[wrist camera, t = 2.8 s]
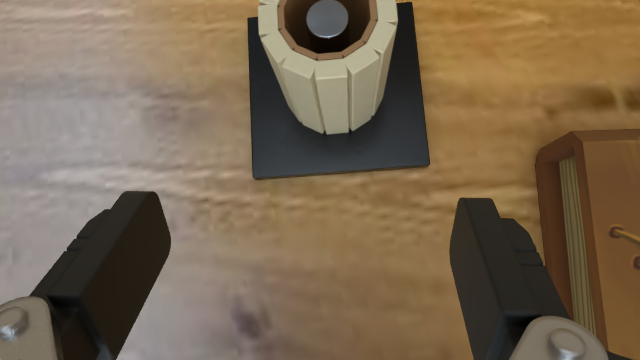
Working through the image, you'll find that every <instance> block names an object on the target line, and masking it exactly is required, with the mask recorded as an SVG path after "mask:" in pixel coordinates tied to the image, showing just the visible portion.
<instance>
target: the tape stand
mask: <svg viewBox="0 0 640 360" xmlns="http://www.w3.org/2000/svg"><path fill="white" fill-rule="evenodd" d="M396 5H397V15H398V23H397V29H396V34H395V39H394V44H393V49H392V54H391V59H390V64H389V69H388V74H387V79H386V84H385V89H384V94H383V98H382V100H381V102H380V104H379V106H378V108H377V111H376V113H375V115H374V116H372V115H371V119H370V120H369V121H367V122H366V123H364V124H363V125H361V126H360V127H358V128H357V129H355V130H354V131H352V130H351V129H350V128H349V132H348V133H338V134H326V131H324V133H320V132H317V131H315V130H313V129H311V128H309V127H307V126H304V125H303V123H302V121H301V122H299V120H298V119H297V117H296V116H295V115H294V113H293V112H292V110H291V109H290V107H289V106H288V104H287V101H286V99H285V96H284V94H283V92H282V89H281V87H280V84H279V82H278V80H277V77H276V75H275V73H274V70H273V68H272V65H271V63H270V61H269V58H268V56H267V53H266V51H265V49H264V46H263V44H262V42H261V38H260V36H259V27H258V17H251V18H248V19H247V20H248V50H249V80H250V110H251V140H252V170H253V178H254V179H255V180H261V179H274V178H288V177H301V176H315V175H328V174H342V173H355V172H369V171H382V170H395V169H409V168H422V167H428V166H429V165H430V159H429V150H428V141H427V132H426V123H425V114H424V105H423V96H422V87H421V78H420V69H419V60H418V51H417V42H416V33H415V24H414V15H413V6H412V2H405V3H396ZM306 27H307V32H308V37H309V42H310V47H311V51H312V52H315V53H317V54H322V53H333V52H342V51H343V50H345V49H346V48H348V47H349V46H350V43H349V13H348V10H347V9H346V7H345V6H344V5H343V4H342V3H341V2H339V1H337V0H319V1H317V2H315V3H314V4H313V5H312V6H311V7H310V8H309V10H308V12H307V14H306Z"/></svg>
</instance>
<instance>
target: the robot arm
mask: <svg viewBox="0 0 640 360" xmlns="http://www.w3.org/2000/svg"><path fill="white" fill-rule="evenodd" d="M170 247H171V236H170V232H169V229H168V225H167V222H166V219H165V216H164V213H163V209H162V206H161V203H160V200H159V197H158V195H157V194H156V193H155V192H151V191H125V192H124V193H122V194H121V196H120V197H119V198H118V200H117V201H116V202H115V204H114V205H113V206H112V208H111V209H105V210H104V211H102V212H101V213H99V214H98V215H97V216H95V217H94V218H92V219H91V220H90V221H88V222H87V224H86V225H85V226H84V227H83V229H82V230H81V231H80V232H79V234H78V235H77V238H76V239H74V240H73V241H72V242H71V244H70V245H69V246H68V248H67V251H64V253H63V254H62V255H61V256H60V258H59V259H58V260H57V261H56V263H55V264H54V265H53V266H52V268H51V269H50V270H49V271H48V273H47V274H46V275H45V277H44V278H43V279H42V280H41V282H40V283H39V284H38V285H37V287H36V288H35V289H34V290H33V292H32V293H31V294H30V295H29V297H21V298H17V299H14V300H11V301H8V302H6V303H4V304H2V305H0V360H116V359H117V357H118V355H119V353H120V351H121V349H122V347H123V345H124V343H125V341H126V339H127V337H128V335H129V333H130V331H131V329H132V327H133V325H134V323H135V321H136V319H137V317H138V315H139V313H140V311H141V309H142V307H143V305H144V303H145V301H146V299H147V297H148V295H149V293H150V291H151V289H152V287H153V285H154V283H155V281H156V279H157V277H158V275H159V273H160V271H161V269H162V267H163V265H164V264H165V262H166V260H167V258H168V255H169V252H170ZM450 264H451V268H452V272H453V276H454V280H455V285H456V289H457V293H458V297H459V301H460V305H461V309H462V313H463V317H464V321H465V325H466V329H467V333H468V337H469V342H470V346H471V350H472V354H473V358H474V360H633V359H630V358H627V357H624V356H620V355H618V354H615V353H612V352H610V351H608V350H606V349H605V348H604V347H603V345H602V344H601V342H600V341H599V340H598V339H597V338H596V336H595V335H593V334H592V333H591V332H590V331H589V330H587V329H586V328H585V327H583V326H581V325H580V324H578V323H576V322H574V321H572V320H571V318H570V316H569V314H568V312H567V310H566V308H565V306H564V304H563V302H562V300H561V298H560V296H559V294H558V292H557V290H556V288H555V286H554V284H553V282H552V280H551V278H550V276H549V273H548V271H547V269H546V267H545V266H543V261H542V259H541V257H540V255H539V253H538V252H536V247H535V245H534V243H533V241H532V239H531V237H530V235H529V233H528V232H527V231H526V230H525V229H524V228H523V227H522V226H521V225H519V224H518V223H517V222H516V221H515V220H514V219H509V218H500V216H499V213H498V211H497V209H496V206H495V204H494V202H493V200H492V199H491V198H460V199H459V201H458V204H457V209H456V214H455V219H454V225H453V230H452V235H451V240H450Z"/></svg>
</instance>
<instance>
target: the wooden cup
mask: <svg viewBox="0 0 640 360" xmlns="http://www.w3.org/2000/svg"><path fill="white" fill-rule="evenodd" d="M317 1H319V0H260V1H259V2H260V4H261V5H259V6H258V27H259V36H260V38H261V42H262V44H263V46H264V49H265V51H266V53H267V56H268V58H269V61H270V63H271V65H272V68H273V70H274V73H275V75H276V77H277V80H278V82H279V84H280V87H281V89H282V92H283V94H284V96H285V99H286V101H287V104H288V106H289V107H290V109H291V110H292V112H293V113H294V115H295V116H296V117H297V119H298V120H299V122H301V121H302V123H303V125H304V126H307V127H309V128H311V129H313V130H315V131H317V132H320V133H324V131H326V134H338V133H348V132H349V128H350V129H351V130H352V131H354V130H355V129H357V128H358V127H360V126H361V125H363V124H364V123H366V122H367V121H369V120H370V119H371V115H372V116H374V115H375V113H376V111H377V108H378V106H379V104H380V102H381V100H382V98H383V94H384V89H385V84H386V79H387V74H388V69H389V64H390V59H391V54H392V49H393V44H394V39H395V34H396V29H397V23H398V15H397V5H396V0H337V1H339V2H341V3H342V4H343V5H344V6H345V7H346V9H347V10H348V13H349V43H350V46H349V47H348V48H346V49H345V50H343V51H342V52H333V53H322V54H317V53H315V52H312V51H311V47H310V42H309V37H308V32H307V27H306V14H307V12H308V10H309V8H310V7H311V6H312V5H313V4H314V3H315V2H317Z"/></svg>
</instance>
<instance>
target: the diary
mask: <svg viewBox="0 0 640 360" xmlns="http://www.w3.org/2000/svg"><path fill="white" fill-rule="evenodd" d="M535 168H536V177H537V187H538V197H539V206H540V216H541V226H542V235H543V245H544V255H545V264H546V269H547V271H548V273H549V276H550V278H551V280H552V282H553V284H554V286H555V288H556V290H557V292H558V294H559V296H560V298H561V300H562V302H563V304H564V306H565V308H566V310H567V312H568V314H569V316H570V318H571V320H572V321H574V322H576V323H578V324H580V325H581V326H583V327H585V328H586V329H587V330H589V331H590V332H591V333H592V334H593V335H595V336H596V338H597V339H598V340H599V341H600V342H601V344H602V345H603V347H604V348H605V349H606V350H608V351H610V352H612V353H615V354H618V355H620V356H624V357H627V358H630V359H633V360H640V129H624V130H594V131H571V132H569V133H568V134H566V135H564V136H562V137H561V138H559V139H557V140H555V141H554V142H552V143H550V144H549V145H547V146H545V147H543V148H542V149H540V152H539V155H538V158H537V162H536V165H535Z"/></svg>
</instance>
